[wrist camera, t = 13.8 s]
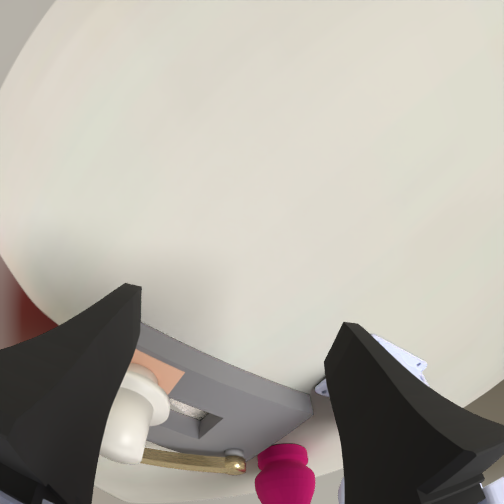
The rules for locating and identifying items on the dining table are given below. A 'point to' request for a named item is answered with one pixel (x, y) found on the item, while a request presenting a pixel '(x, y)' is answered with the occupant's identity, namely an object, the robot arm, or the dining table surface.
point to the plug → (134, 415)
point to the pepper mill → (284, 475)
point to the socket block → (217, 401)
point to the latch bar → (195, 462)
